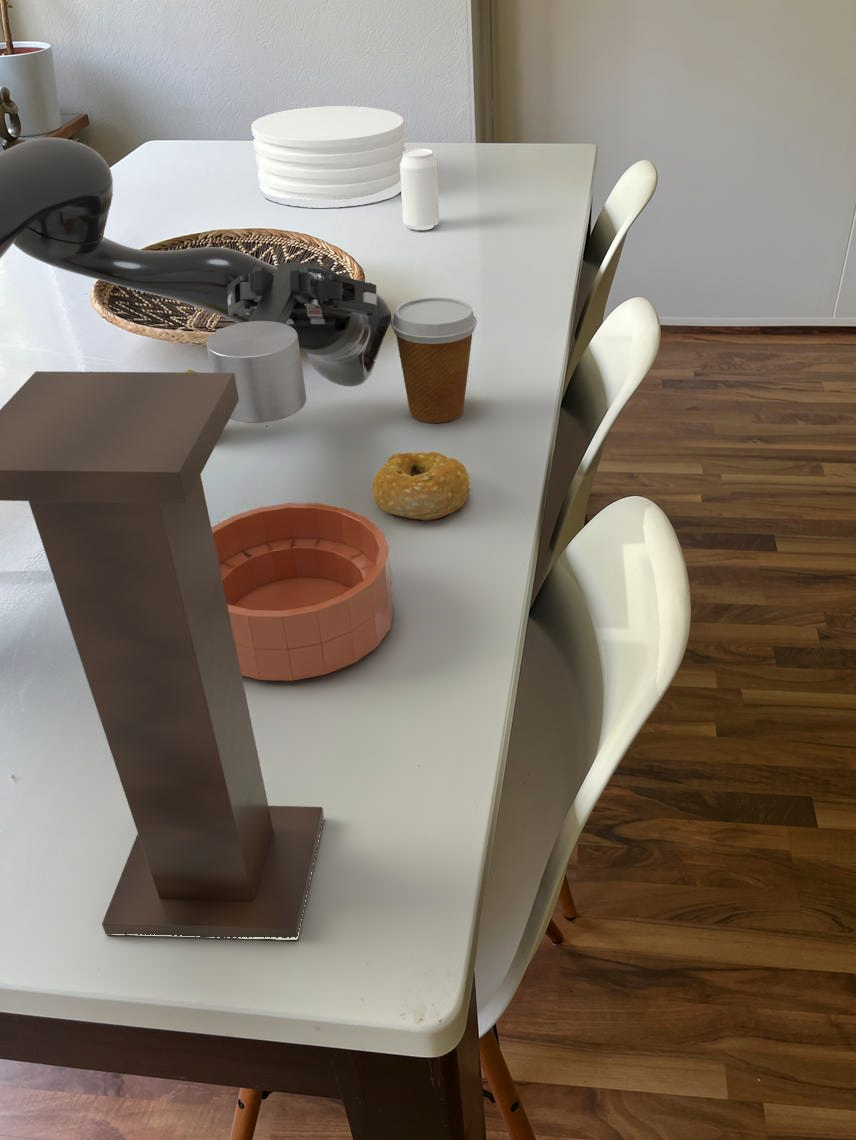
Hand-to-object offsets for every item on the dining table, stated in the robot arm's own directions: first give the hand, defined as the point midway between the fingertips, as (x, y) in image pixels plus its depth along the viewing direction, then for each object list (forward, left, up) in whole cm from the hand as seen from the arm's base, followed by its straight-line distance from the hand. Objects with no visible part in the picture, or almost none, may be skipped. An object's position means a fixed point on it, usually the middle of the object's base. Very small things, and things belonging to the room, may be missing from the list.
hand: (276, 280), depth 79 cm
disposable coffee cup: (+9, +31, -26) cm, 42 cm away
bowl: (0, -10, -26) cm, 28 cm away
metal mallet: (0, -3, -6) cm, 6 cm away
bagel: (+9, +11, -26) cm, 30 cm away
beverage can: (+1, +102, -26) cm, 106 cm away
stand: (0, -37, -26) cm, 45 cm away
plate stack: (-18, +127, -26) cm, 131 cm away
